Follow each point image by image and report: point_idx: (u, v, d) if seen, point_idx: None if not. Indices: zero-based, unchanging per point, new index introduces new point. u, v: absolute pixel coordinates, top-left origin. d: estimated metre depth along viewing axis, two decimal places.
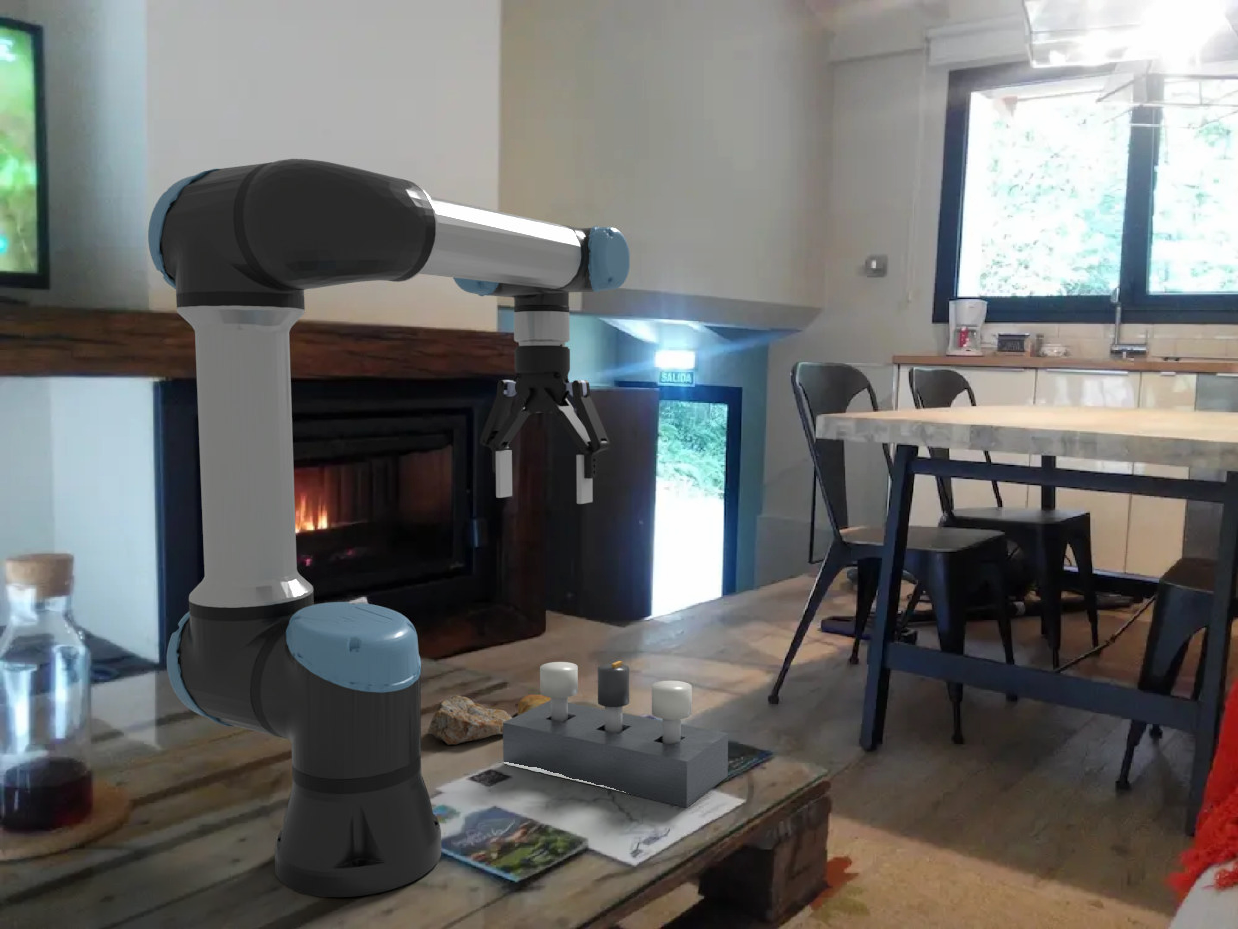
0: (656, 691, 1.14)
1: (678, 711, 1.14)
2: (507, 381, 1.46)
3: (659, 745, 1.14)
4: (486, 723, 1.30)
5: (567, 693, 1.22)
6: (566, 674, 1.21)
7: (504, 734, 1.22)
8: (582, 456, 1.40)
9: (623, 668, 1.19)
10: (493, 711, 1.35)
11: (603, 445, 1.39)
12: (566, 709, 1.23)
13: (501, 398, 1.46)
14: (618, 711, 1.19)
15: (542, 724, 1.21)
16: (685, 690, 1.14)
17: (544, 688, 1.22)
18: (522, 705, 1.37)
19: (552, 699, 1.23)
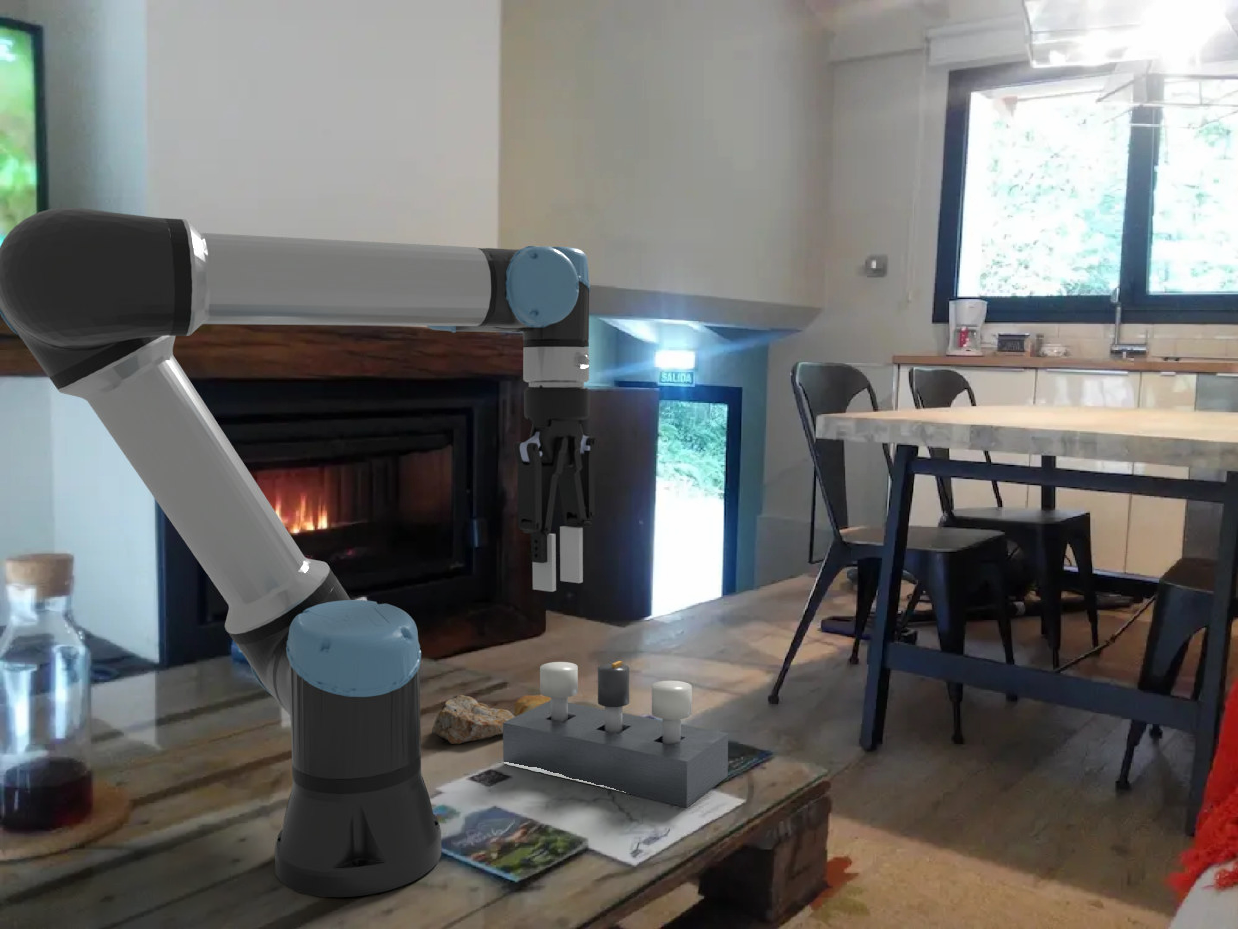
0: (656, 691, 1.14)
1: (678, 711, 1.14)
2: None
3: (659, 745, 1.14)
4: (490, 723, 1.30)
5: (567, 693, 1.22)
6: (566, 674, 1.21)
7: (504, 734, 1.22)
8: None
9: (623, 668, 1.19)
10: (497, 711, 1.35)
11: (524, 527, 1.17)
12: (566, 709, 1.23)
13: None
14: (618, 711, 1.19)
15: (542, 724, 1.21)
16: (685, 690, 1.14)
17: (544, 688, 1.22)
18: (519, 706, 1.36)
19: (552, 699, 1.23)
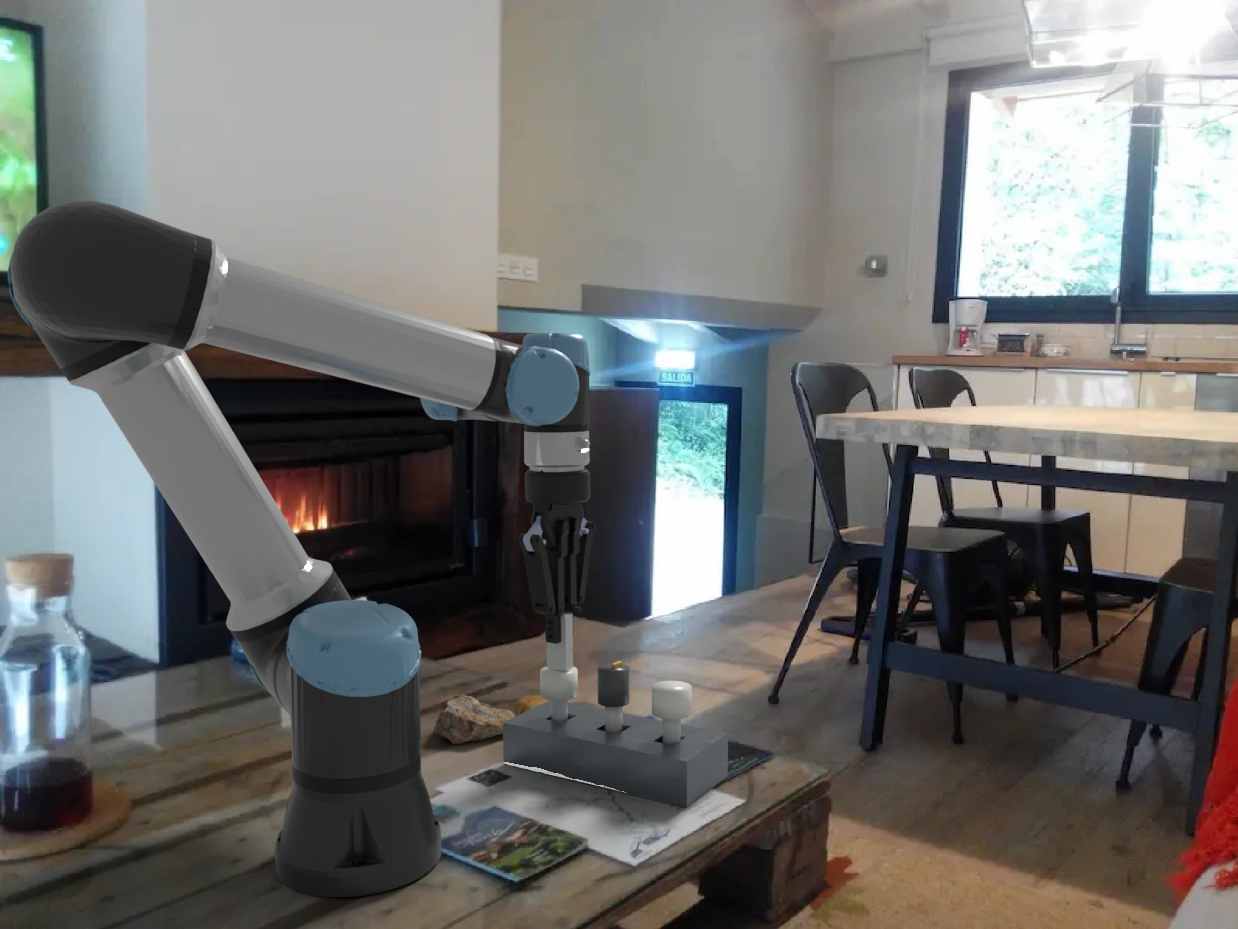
0: (656, 691, 1.14)
1: (678, 711, 1.14)
2: None
3: (659, 745, 1.14)
4: (491, 723, 1.30)
5: (567, 696, 1.22)
6: (566, 677, 1.22)
7: (504, 734, 1.22)
8: None
9: (623, 668, 1.19)
10: (499, 711, 1.35)
11: (538, 610, 1.20)
12: (566, 712, 1.23)
13: None
14: (618, 711, 1.19)
15: (542, 724, 1.21)
16: (685, 690, 1.14)
17: (544, 691, 1.22)
18: (520, 706, 1.36)
19: (552, 702, 1.23)
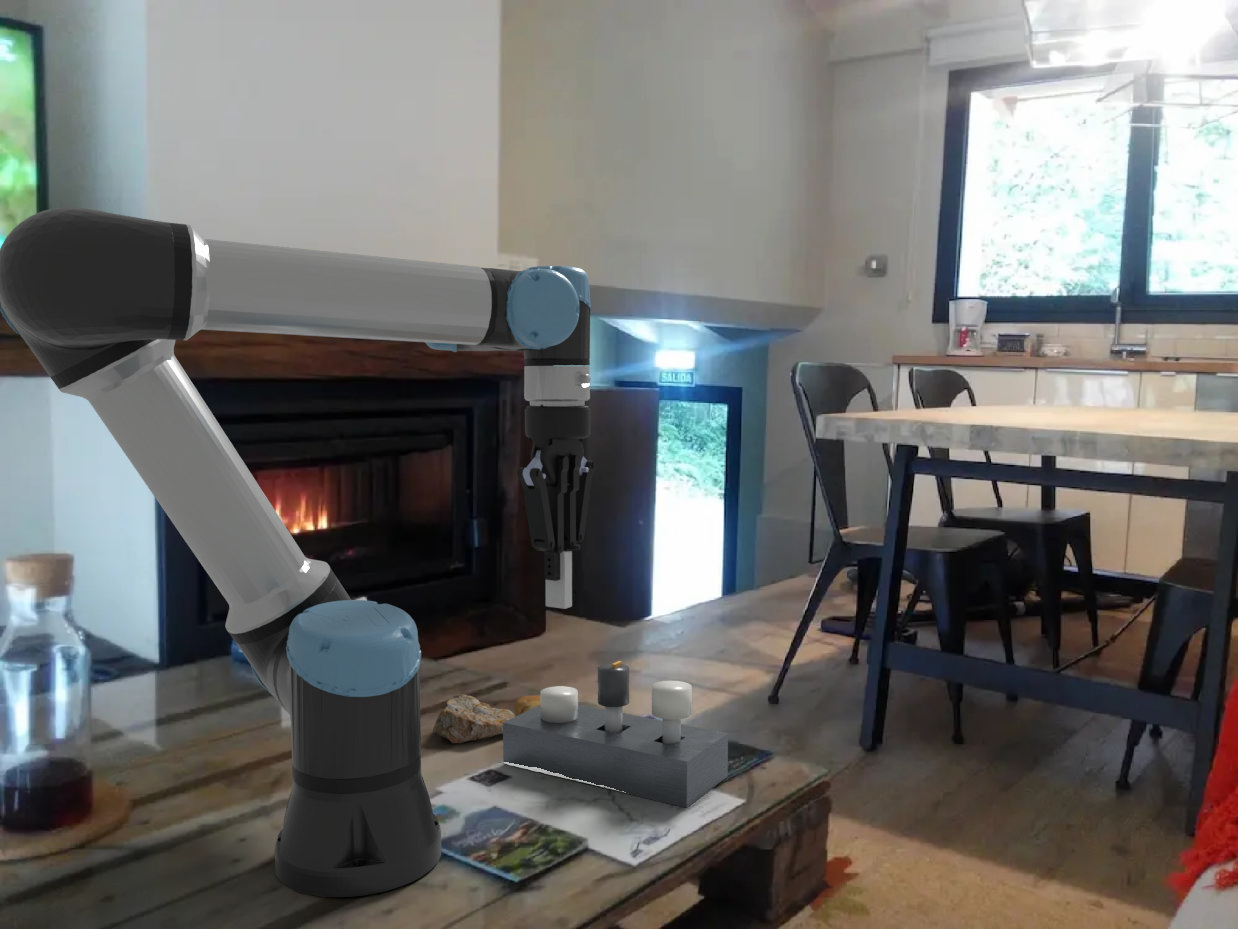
0: (656, 691, 1.14)
1: (678, 711, 1.14)
2: None
3: (659, 745, 1.14)
4: (491, 722, 1.30)
5: (567, 718, 1.22)
6: (566, 699, 1.22)
7: (504, 734, 1.22)
8: None
9: (623, 668, 1.19)
10: (499, 710, 1.35)
11: (538, 546, 1.19)
12: None
13: None
14: (618, 711, 1.19)
15: (542, 724, 1.21)
16: (685, 690, 1.14)
17: (544, 713, 1.22)
18: (519, 706, 1.36)
19: None
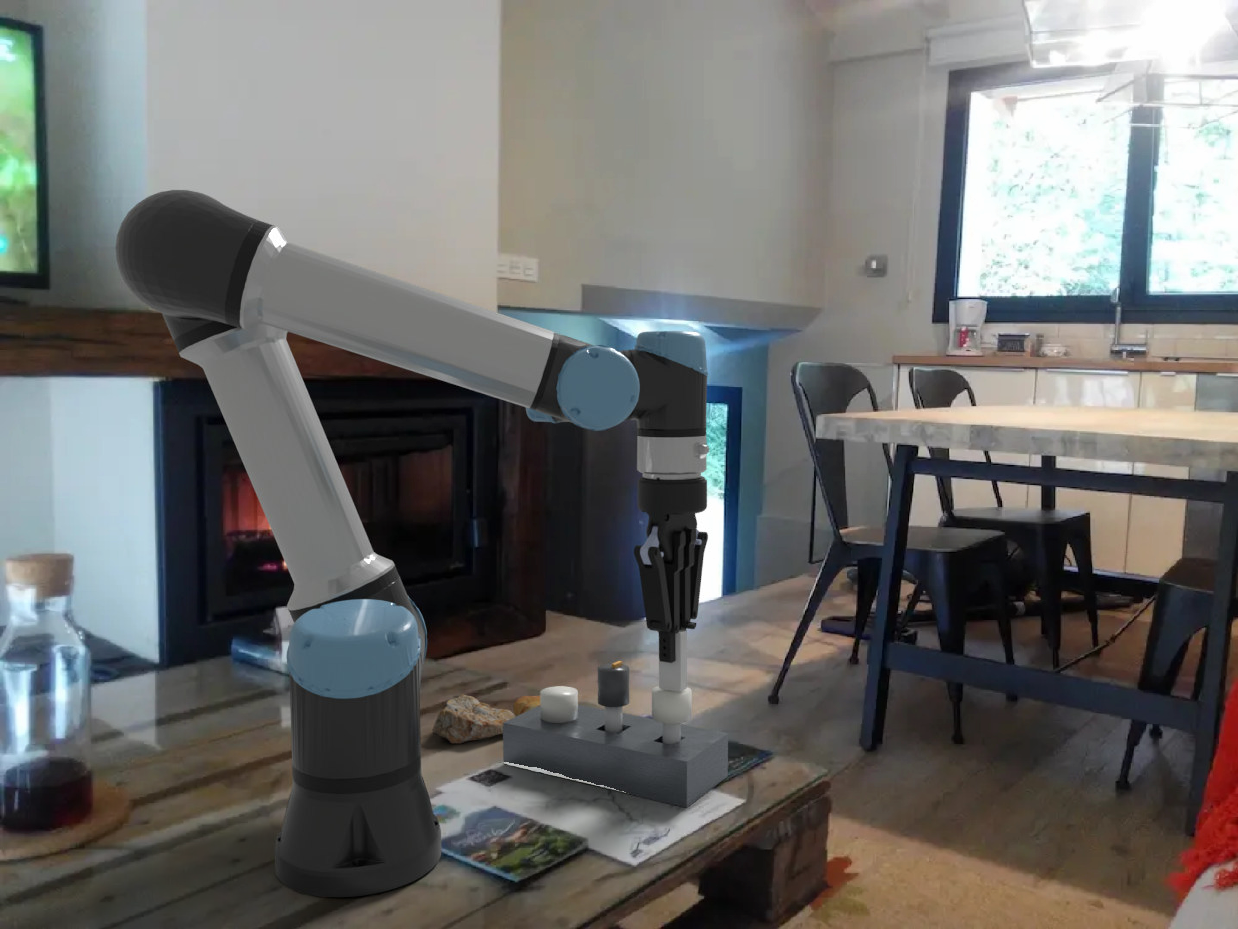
0: (656, 695, 1.14)
1: (678, 715, 1.14)
2: None
3: (659, 745, 1.14)
4: (490, 723, 1.30)
5: (567, 718, 1.22)
6: (566, 699, 1.22)
7: (504, 734, 1.22)
8: None
9: (623, 668, 1.19)
10: (498, 711, 1.35)
11: (653, 627, 1.12)
12: None
13: None
14: (618, 711, 1.19)
15: (542, 724, 1.21)
16: (685, 695, 1.14)
17: (544, 713, 1.22)
18: (519, 707, 1.36)
19: None
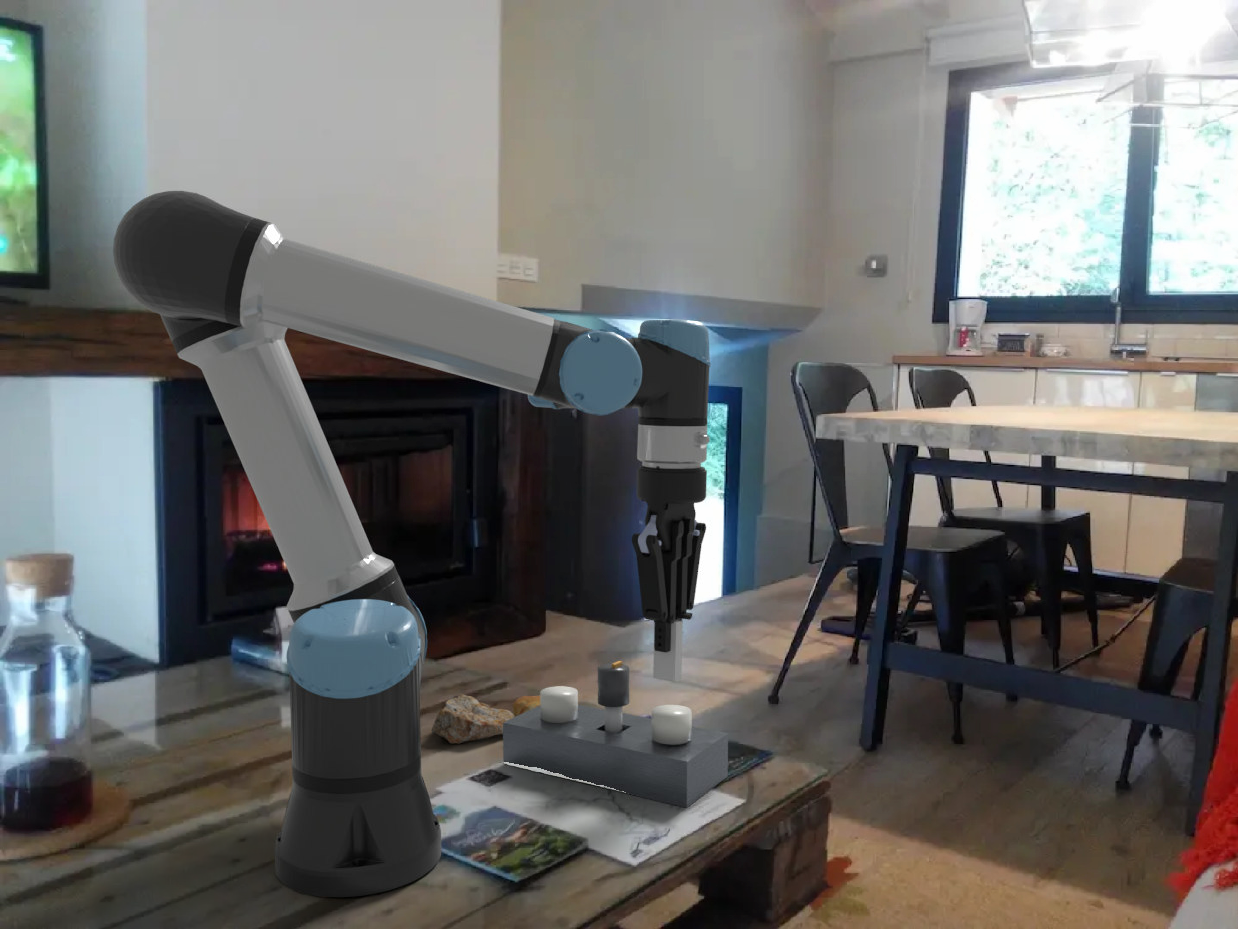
0: (656, 716, 1.15)
1: (678, 736, 1.14)
2: None
3: (659, 745, 1.14)
4: (489, 723, 1.30)
5: (567, 718, 1.22)
6: (566, 699, 1.22)
7: (504, 734, 1.22)
8: None
9: (623, 668, 1.19)
10: (498, 711, 1.35)
11: (649, 616, 1.12)
12: None
13: None
14: (618, 711, 1.19)
15: (542, 724, 1.21)
16: (685, 715, 1.14)
17: (544, 713, 1.22)
18: (519, 707, 1.36)
19: None
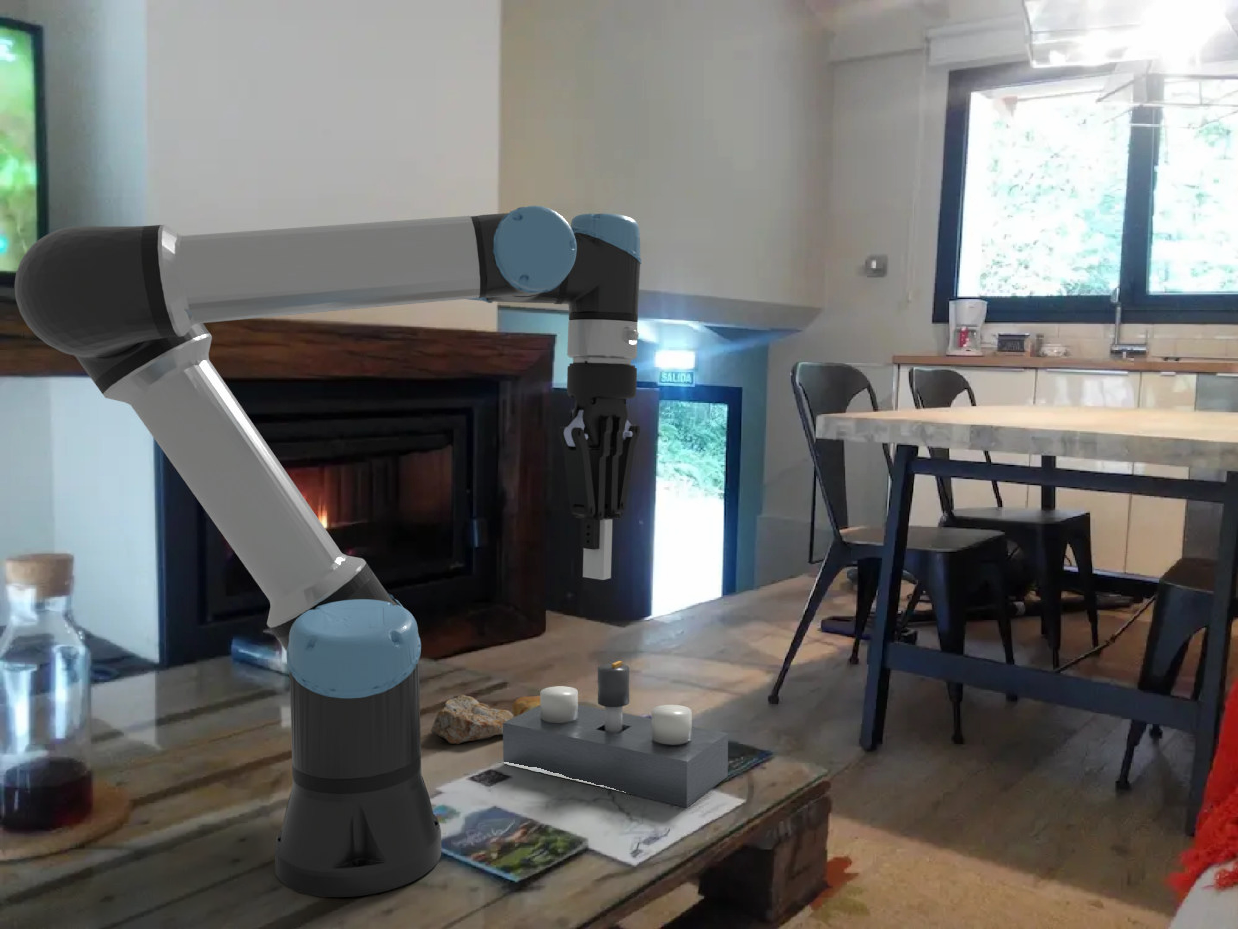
0: (656, 716, 1.15)
1: (678, 736, 1.14)
2: None
3: (659, 745, 1.14)
4: (489, 723, 1.30)
5: (567, 718, 1.22)
6: (566, 699, 1.22)
7: (504, 734, 1.22)
8: None
9: (623, 668, 1.19)
10: (498, 711, 1.35)
11: (577, 512, 1.12)
12: None
13: None
14: (618, 711, 1.19)
15: (542, 724, 1.21)
16: (685, 715, 1.14)
17: (544, 713, 1.22)
18: (518, 707, 1.36)
19: None
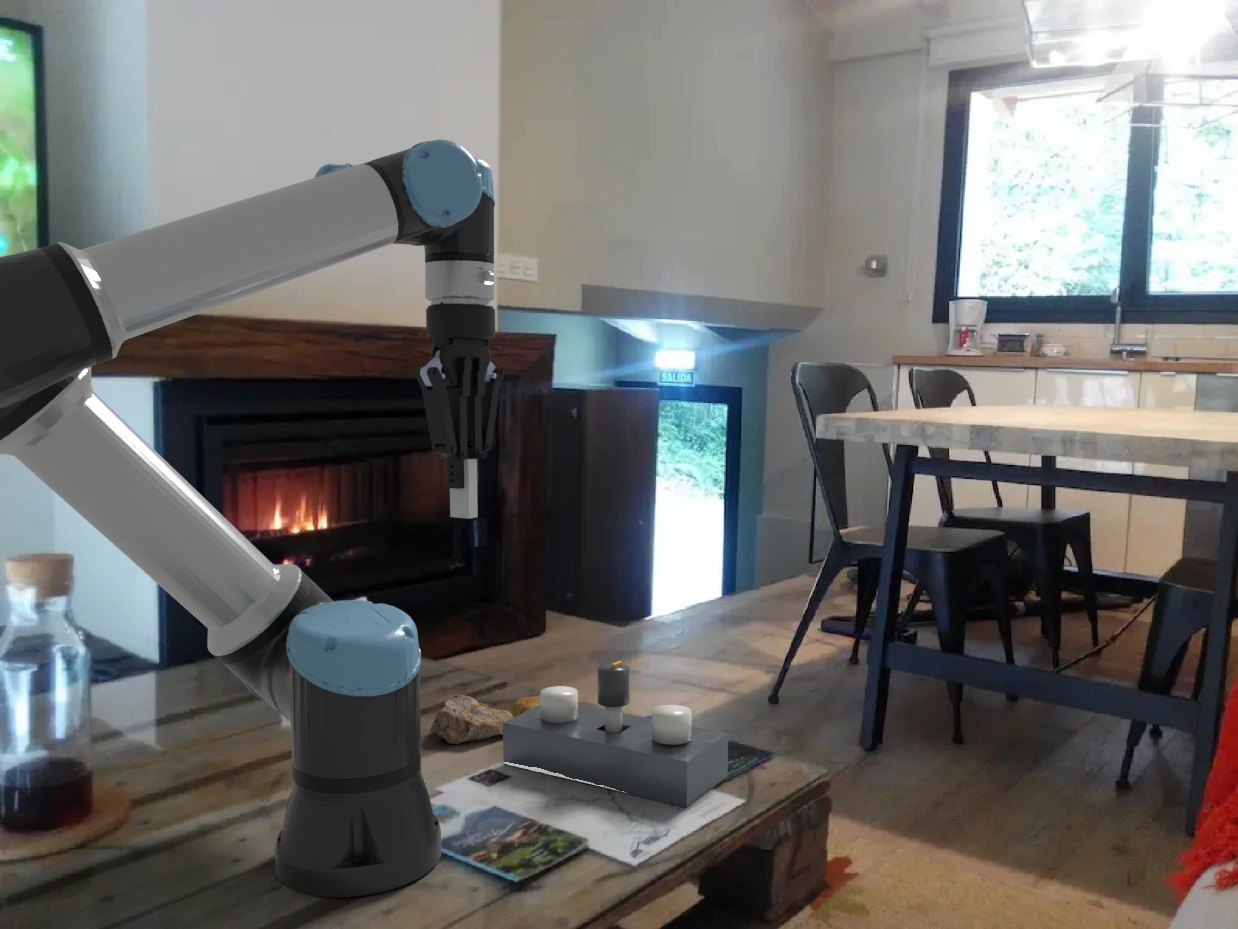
0: (656, 716, 1.15)
1: (678, 736, 1.14)
2: None
3: (659, 745, 1.14)
4: (488, 723, 1.30)
5: (567, 718, 1.22)
6: (566, 699, 1.22)
7: (504, 734, 1.22)
8: None
9: (623, 668, 1.19)
10: (497, 711, 1.35)
11: (439, 452, 1.14)
12: None
13: None
14: (618, 711, 1.19)
15: (542, 724, 1.21)
16: (685, 715, 1.14)
17: (544, 713, 1.22)
18: (518, 708, 1.35)
19: None
